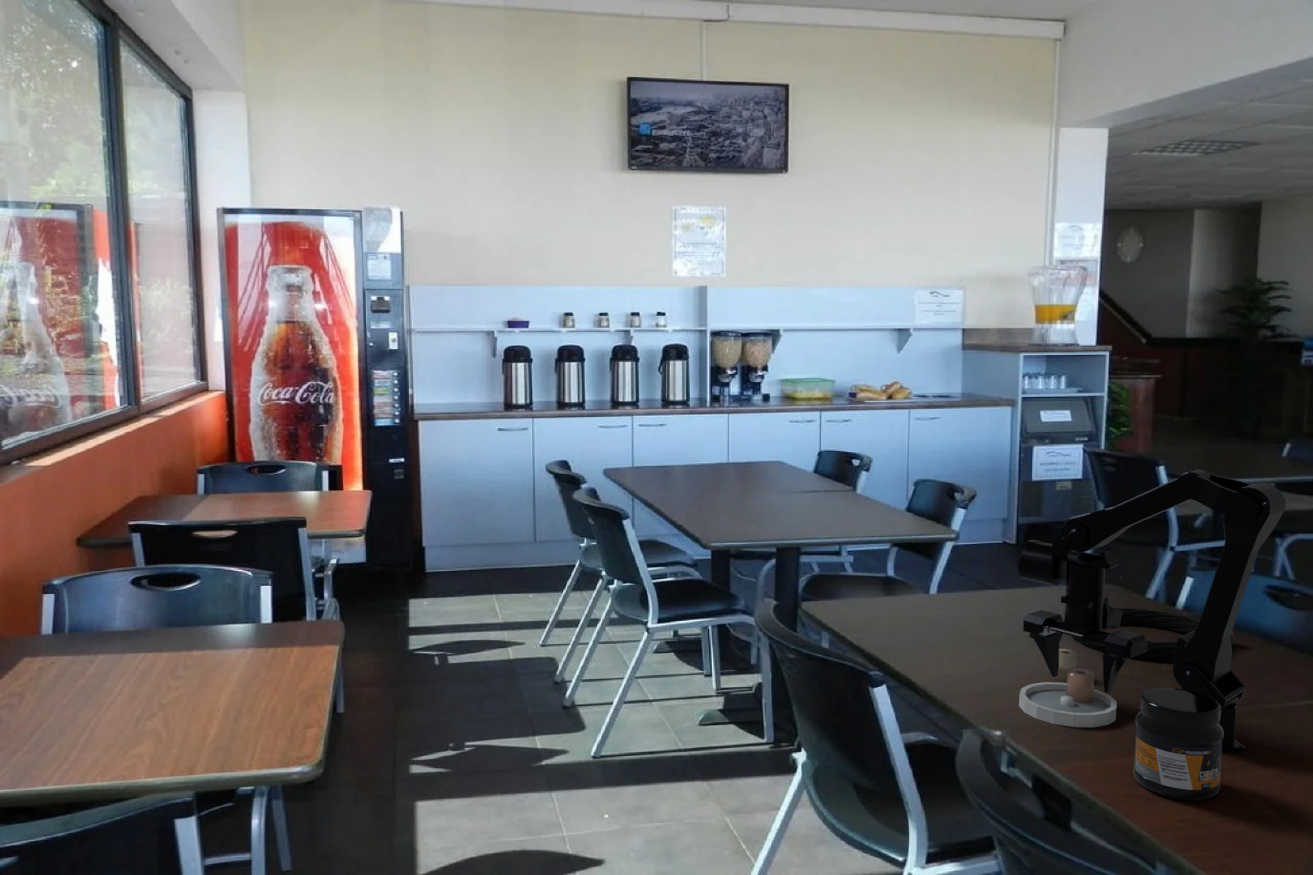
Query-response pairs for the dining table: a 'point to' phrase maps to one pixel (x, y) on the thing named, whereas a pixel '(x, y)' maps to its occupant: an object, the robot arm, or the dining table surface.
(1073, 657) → the maple bead
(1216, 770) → the supplement container
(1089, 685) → the terracotta bead
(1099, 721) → the ring tray
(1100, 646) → the cable lock
